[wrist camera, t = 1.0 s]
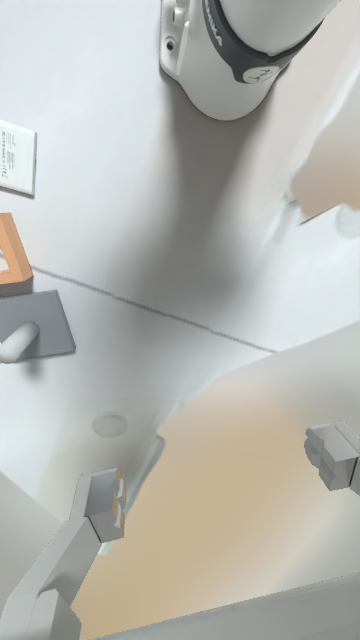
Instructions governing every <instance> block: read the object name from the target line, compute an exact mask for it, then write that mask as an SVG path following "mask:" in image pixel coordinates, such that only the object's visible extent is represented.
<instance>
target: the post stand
mask: <svg viewBox="0 0 360 640" xmlns="http://www.w3.org/2000/svg"><path fill="white" fill-rule="evenodd" d="M0 342H1V345H0V362H2V363H5V364H10V363H13V362H14V361H15V360H21V359H28V358H34V357H40V356H47V355H53V354H60V353H66V352H72V351H74V350H75V348H76V346H75V343H74V340H73V337H72V334H71V331H70V328H69V325H68V322H67V319H66V316H65V313H64V310H63V307H62V304H61V301H60V298H59V295H58V292H57V290H51V291H44V292H37V293H30V294H22V295H15V296H8V297H1V298H0Z"/></svg>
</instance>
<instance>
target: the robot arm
mask: <svg viewBox="0 0 360 640" xmlns="http://www.w3.org/2000/svg"><path fill="white" fill-rule="evenodd" d="M340 1H341V0H162V11H161V36H160V64H161V67H162V69H163V70H164V71H165V72H166V73H167V74H168V75H169V76H171V77H172V78H173V79H175V80H176V81H178V82H179V83H180V85H181V86H182V87H183V89H184V91H185V92H186V94H187V96H188V97H189V99H190V100H191V101H192V103H193V104H194V105H195V106H196V107H197V108H198V109H199V110H200V111H201V112H203V113H204V114H206V115H207V116H209V117H212V118H214V119H218V120H235V119H238V118H241V117H243V116H245V115H247V114H248V113H250V112H251V111H253V110H254V109H255V108H256V107H257V106H258V105H259V104H260V103H261V101H262V100H263V99H264V97H265V96H266V94H267V92H268V91H269V89H270V87H271V85H272V83H273V82H274V80H275V78H276V77H277V75H278V74H279V72H280V71H281V70H282V69H284V68H285V67H286V66H287V64H288V63H289V62H290V61H291V59H292V58H293V57H294V56H295V55H296V54H297V53H298V52H299V51H300V50H301V49H302V48H303V47H304V46H305V45H306V43H307V42H308V41H309V40H310V39H311V38H312V37H313V35H314V34H315V33H316V31H317V30H318V28H319V27H320V25H321V24H322V22H323V20H324V18H325V17H326V16H327V15H328V14H329V13H330V11H331V10H332V9H333V8H334V7H335V6H336V5H337V4H338V3H339V2H340ZM169 44H170V45H171V46H172V47H173V49H172V50H168V48H167V45H169ZM306 435H307V437H308V438H307V439H306V440H305V444H304V448H305V451H306V455H307V457H308V459H309V460H310V462H311V464H312V465H314V466H315V467H317V468H318V469H319V476H320V477H321V479H322V480H323V482H324V483H325V485H326V486H327V488H328V489H329V491H332V490H337V489H343V488H348V487H350V489H351V490H353V491H354V492H355V493H357V494H358V495H359V496H360V439H359V438H358V437H357V435H356V434H355V433H354V432H353V431H352V430H351V429H350V428H349V427H348V426H347V425H346V424H345V423H344V422H342V421H338V422H334V423H330V424H329V423H328V424H323V425H319V426H314V427H310V428H307V429H306ZM125 505H126V488H125V483H124V480H123V479H122V478H121V471H120V469H119V467H118V468H113V469H108V470H102V471H97V472H91V473H86V474H82V475H81V476H80V478H79V480H78V484H77V488H76V492H75V496H74V500H73V504H72V509H71V513H70V517H69V521H65V522H64V523H63V524H62V526H61V527H60V529H59V530H58V532H57V533H56V534H55V535H54V537H53V538H52V539H51V541H50V542H49V543H48V545H47V546H46V548H45V549H44V550H43V552H42V553H41V554H40V556H39V557H38V558H37V560H36V561H35V562H34V564H33V565H32V566H31V568H30V569H29V571H28V572H27V573H26V575H25V576H24V577H23V579H22V580H21V581H20V583H19V584H18V585H17V587H16V588H15V589H14V591H13V592H12V594H11V595H10V596H9V598H8V600H7V603H6V605H5V608H4V611H3V614H2V617H1V620H0V640H79V638H80V630H81V622H80V620H79V618H78V617H77V616H76V615H75V613H74V612H73V611H72V609H71V608H70V606H71V604H72V602H73V600H74V598H75V596H76V594H77V592H78V590H79V588H80V586H81V584H82V582H83V580H84V578H85V576H86V574H87V572H88V571H89V569H90V567H91V565H92V563H93V561H94V559H95V557H96V555H97V553H98V551H99V549H100V547H101V543H104V542H108V541H112V540H116V539H120V538H123V537H124V523H125V517H124V514H123V511H122V510H123V509H124V507H125ZM90 640H360V572H357V573H353V574H349V575H346V576H341V577H337V578H333V579H330V580H326V581H321V582H318V583H314V584H310V585H306V586H302V587H298V588H294V589H290V590H286V591H282V592H278V593H274V594H270V595H266V596H262V597H258V598H254V599H250V600H246V601H242V602H238V603H234V604H230V605H226V606H222V607H218V608H214V609H210V610H206V611H202V612H198V613H194V614H190V615H186V616H182V617H178V618H174V619H170V620H166V621H162V622H158V623H154V624H150V625H146V626H142V627H138V628H134V629H130V630H126V631H122V632H118V633H114V634H111V635H106V636H102V637H98V638H94V639H90Z"/></svg>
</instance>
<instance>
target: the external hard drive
mask: <svg viewBox="0 0 360 640" xmlns="http://www.w3.org/2000/svg"><path fill="white" fill-rule="evenodd" d="M36 146H37V133H36V132H34V131H32V130H29V129H25V128H23V127H20V126H17V125H14V124H11V123H8V122H5V121H2V120H0V186H2V187H6V188H9V189H13V190H16V191H20V192H24V193H27V194H31V195H34V186H35V160H36Z"/></svg>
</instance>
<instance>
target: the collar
mask: <svg viewBox="0 0 360 640" xmlns="http://www.w3.org/2000/svg"><path fill="white" fill-rule="evenodd" d="M0 247H1V249H2V252H3V254H4V257H5V259H6V262H7V264H8V267H9V269H10V270H3V271H0V284H6V283H14V282H21V281H26V280H27V279H29V278H30V277H32V276H33V273H32V270H31V267H30V265H29V262H28V259H27V256H26V254H25V251H24V248H23V245H22V243H21V240H20V237H19V234H18V232H17V229H16V226H15V223H14V221H13V218H12V215H11V213H0Z"/></svg>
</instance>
